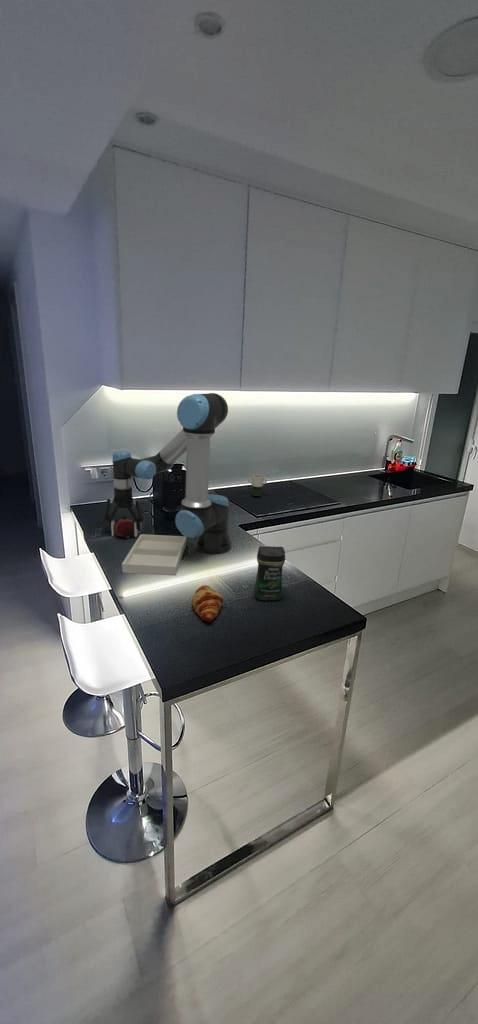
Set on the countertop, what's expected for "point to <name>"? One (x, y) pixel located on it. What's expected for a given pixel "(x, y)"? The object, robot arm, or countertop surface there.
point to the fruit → (124, 528)
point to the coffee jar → (269, 573)
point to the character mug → (257, 484)
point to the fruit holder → (155, 555)
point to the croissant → (207, 603)
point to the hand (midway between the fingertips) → (124, 535)
